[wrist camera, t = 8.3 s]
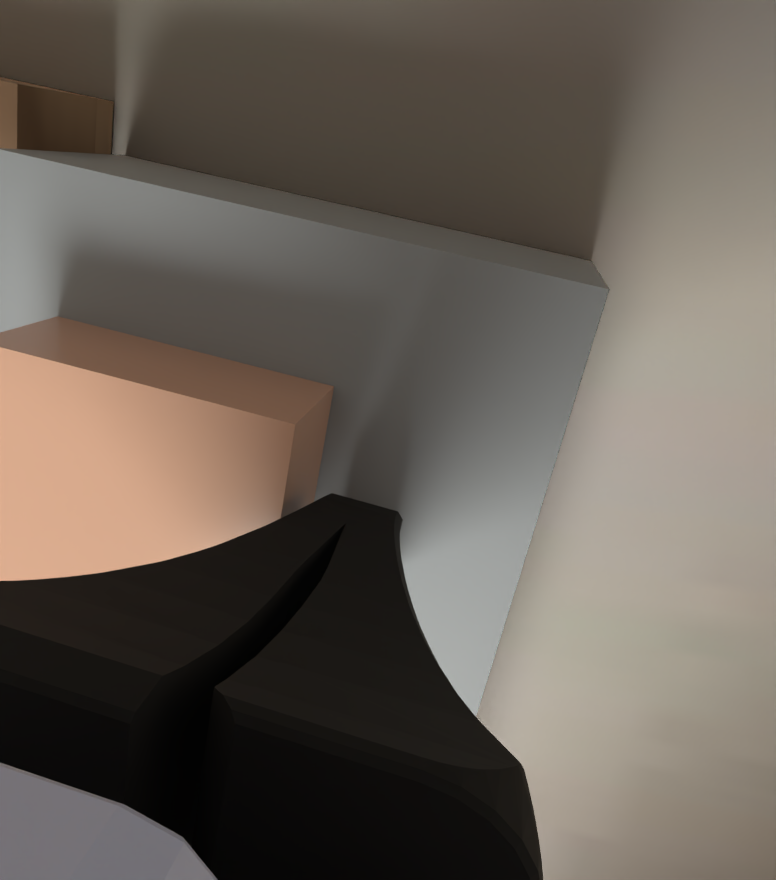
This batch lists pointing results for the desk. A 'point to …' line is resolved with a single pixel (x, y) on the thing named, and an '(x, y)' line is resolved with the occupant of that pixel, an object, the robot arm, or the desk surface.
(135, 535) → the terracotta tile
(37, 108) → the walnut box
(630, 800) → the desk surface
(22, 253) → the slate slab
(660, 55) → the desk surface
